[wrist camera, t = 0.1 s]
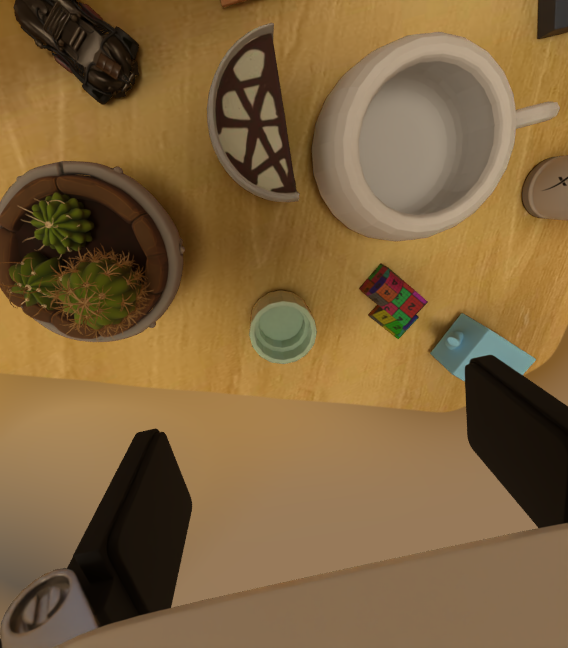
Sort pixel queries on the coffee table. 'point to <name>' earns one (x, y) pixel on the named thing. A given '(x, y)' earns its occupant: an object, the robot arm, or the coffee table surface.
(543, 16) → the scale
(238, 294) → the coffee table surface
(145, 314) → the flowerpot
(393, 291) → the multicolored numbered block puzzle
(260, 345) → the bowl
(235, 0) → the emblem
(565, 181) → the travel mug
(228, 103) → the food container
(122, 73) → the toy car
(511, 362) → the teapot
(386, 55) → the mug
